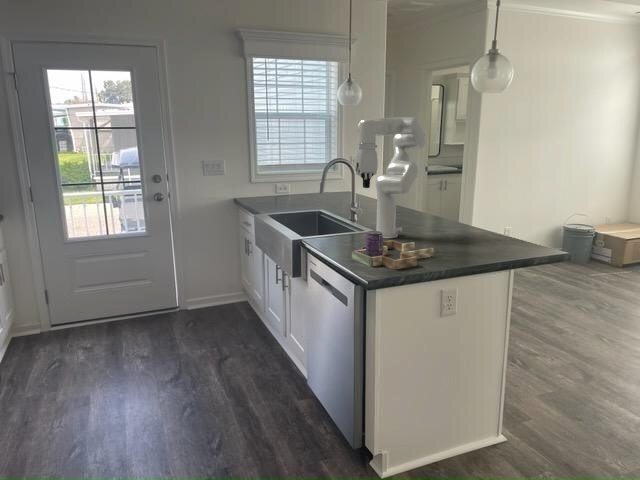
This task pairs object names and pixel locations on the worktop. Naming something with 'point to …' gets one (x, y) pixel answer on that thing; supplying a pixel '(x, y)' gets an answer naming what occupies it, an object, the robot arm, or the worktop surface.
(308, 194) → the worktop surface
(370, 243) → the beverage can
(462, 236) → the worktop surface
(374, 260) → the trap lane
